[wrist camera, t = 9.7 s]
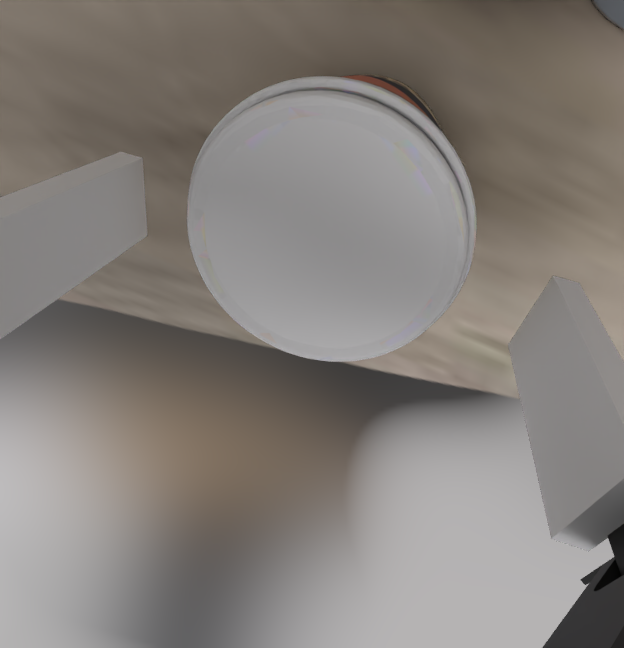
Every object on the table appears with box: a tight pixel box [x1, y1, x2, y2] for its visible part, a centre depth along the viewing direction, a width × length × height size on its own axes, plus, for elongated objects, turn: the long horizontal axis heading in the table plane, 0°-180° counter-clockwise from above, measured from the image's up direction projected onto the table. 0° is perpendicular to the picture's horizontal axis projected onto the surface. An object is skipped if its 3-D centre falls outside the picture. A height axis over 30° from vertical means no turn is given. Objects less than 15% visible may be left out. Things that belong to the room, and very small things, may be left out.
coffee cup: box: [187, 75, 477, 362], centre depth 17 cm, size 9×9×12 cm
